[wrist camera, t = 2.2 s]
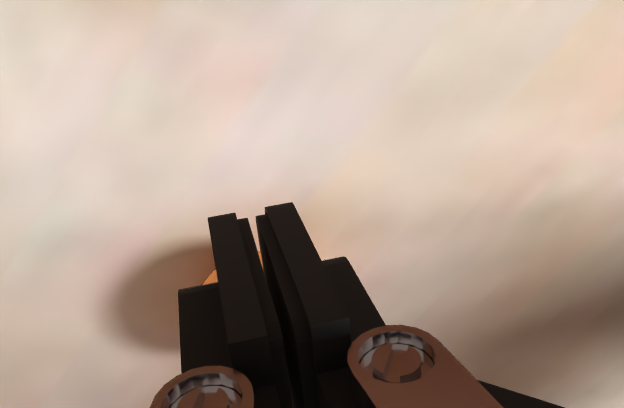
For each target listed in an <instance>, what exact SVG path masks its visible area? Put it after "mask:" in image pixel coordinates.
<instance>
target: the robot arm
mask: <svg viewBox="0 0 624 408" xmlns="http://www.w3.org/2000/svg"><path fill="white" fill-rule="evenodd" d="M208 223H209V229H210V236H211V242H212V248H213V254H214V260H215V267H216V273H217V279H218V282H215V283H210V284H205V285H200V286H195V287H190V288H185V289H180V290H178V302H179V325H180V348H181V371H182V374H180V375H178V376H176V377H175V378H173V379H172V380H170V381H169V382H168V383H166V384H165V385H164V386H163V387H162V388H161V389H160V390H159V392H158V393H157V394H156V395H155V397H154V399H153V401H152V404H151V406H150V408H564V407H561V406H558V405H555V404H552V403H548V402H545V401H542V400H539V399H536V398H533V397H529V396H526V395H523V394H520V393H517V392H514V391H510V390H507V389H504V388H501V387H498V386H495V385H491V384H488V383H485V382H482V381H479V380H476V379H475V378H474V377H473V376H472V375H471V373H470V372H469V371H468V370H467V369H466V368H465V367H464V366H463V365H462V364H461V363H460V362H459V361H458V360H457V359H456V358H455V357H454V356H453V355H452V354H451V353H450V352H449V351H448V350H447V349H446V348H445V347H444V346H443V345H442V344H441V343H440V341H439V340H437V339H436V338H435V337H433V336H432V335H431V334H429V333H428V332H425V331H423V330H420V329H418V328H415V327H410V326H404V325H385V323H384V322H383V320H382V318H381V316H380V315H379V313H378V311H377V309H376V308H375V306H374V304H373V303H372V301H371V299H370V297H369V296H368V294H367V292H366V290H365V289H364V287H363V285H362V283H361V282H360V280H359V278H358V277H357V275H356V273H355V271H354V270H353V268H352V266H351V264H350V263H349V261H348V260H347V258H346V257H339V258H334V259H329V260H324V261H321V259H320V257H319V255H318V253H317V251H316V249H315V247H314V245H313V243H312V241H311V239H310V237H309V235H308V233H307V230H306V228H305V226H304V224H303V222H302V220H301V218H300V216H299V214H298V212H297V210H296V208H295V206H294V204H293V203H292V202H291V203H285V204H280V205H274V206H269V207H265V215H260V216H256V224H257V231H258V238H259V244H260V251H261V258H262V264H263V267H262V264H261V261H260V258H259V254H258V251H257V248H256V244H255V241H254V238H253V235H252V231H251V228H250V225H249V221H248V218H243V219H238V220H237V217H236V214H235V213H230V214H225V215H219V216H214V217H208Z"/></svg>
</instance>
